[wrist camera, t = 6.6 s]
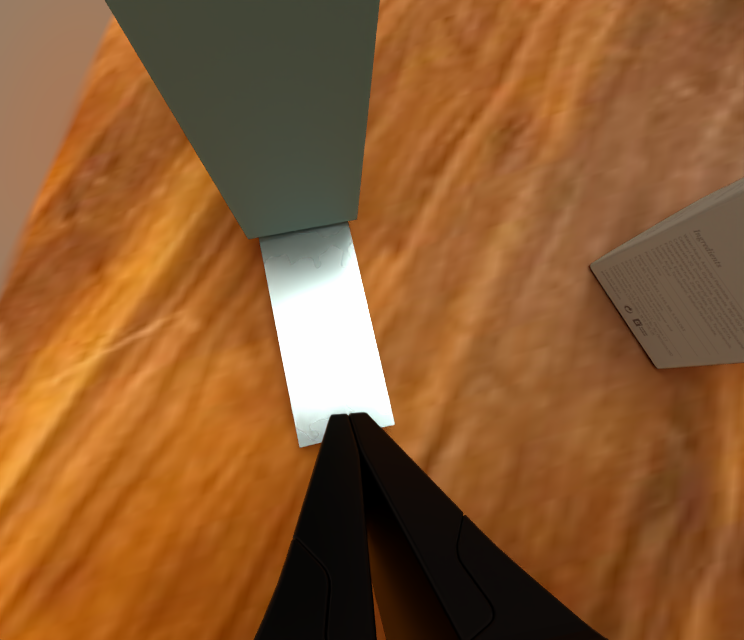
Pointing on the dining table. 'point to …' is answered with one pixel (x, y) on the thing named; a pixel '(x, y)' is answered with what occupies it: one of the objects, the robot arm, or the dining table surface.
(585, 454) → the dining table surface
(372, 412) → the rail
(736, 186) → the small box
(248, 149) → the tall teal pillar
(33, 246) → the dining table surface
